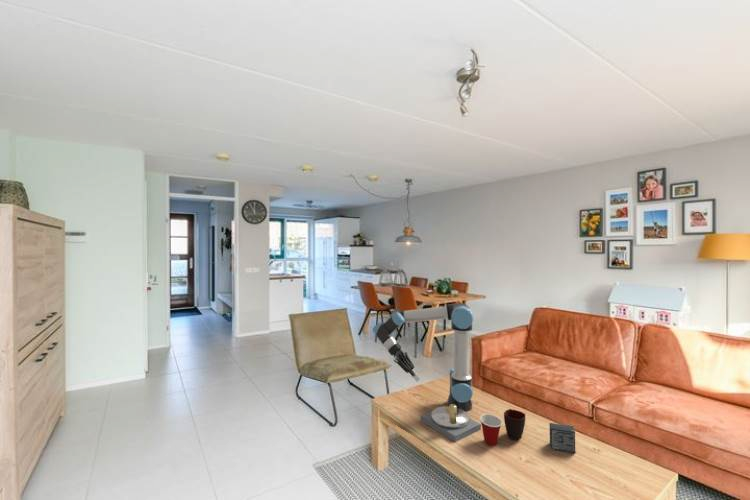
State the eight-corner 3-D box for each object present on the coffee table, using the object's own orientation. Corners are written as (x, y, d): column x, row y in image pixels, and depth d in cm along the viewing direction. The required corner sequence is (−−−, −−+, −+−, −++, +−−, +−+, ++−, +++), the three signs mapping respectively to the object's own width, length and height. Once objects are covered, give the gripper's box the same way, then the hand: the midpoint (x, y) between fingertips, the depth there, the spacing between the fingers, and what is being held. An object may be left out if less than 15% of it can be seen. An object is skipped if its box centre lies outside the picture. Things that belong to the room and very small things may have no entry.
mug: (501, 437, 180) (501, 414, 180) (511, 426, 191) (511, 405, 190) (521, 444, 174) (521, 421, 174) (530, 433, 184) (530, 410, 184)
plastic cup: (493, 451, 168) (493, 427, 168) (475, 441, 177) (475, 418, 177) (507, 444, 174) (507, 420, 174) (488, 434, 183) (488, 412, 183)
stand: (420, 420, 198) (420, 415, 198) (445, 410, 210) (445, 405, 210) (455, 441, 177) (455, 435, 177) (480, 429, 188) (480, 423, 188)
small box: (572, 446, 172) (572, 425, 172) (575, 453, 166) (575, 432, 166) (549, 442, 176) (549, 421, 176) (551, 449, 170) (551, 428, 169)
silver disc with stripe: (436, 407, 206) (436, 388, 206) (471, 414, 198) (471, 394, 198) (427, 424, 188) (427, 403, 188) (465, 432, 180) (465, 410, 180)
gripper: (393, 347, 212) (419, 379, 203) (382, 353, 201) (409, 388, 192) (401, 339, 209) (427, 372, 200) (390, 345, 198) (418, 380, 189)
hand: (418, 380), depth 196 cm, fingers closed
